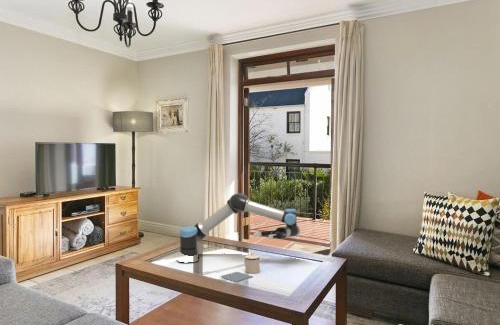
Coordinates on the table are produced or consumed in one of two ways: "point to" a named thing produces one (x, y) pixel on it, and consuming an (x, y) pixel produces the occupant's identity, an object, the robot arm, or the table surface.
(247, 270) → the teacup with lid
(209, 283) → the table surface
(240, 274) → the mat
